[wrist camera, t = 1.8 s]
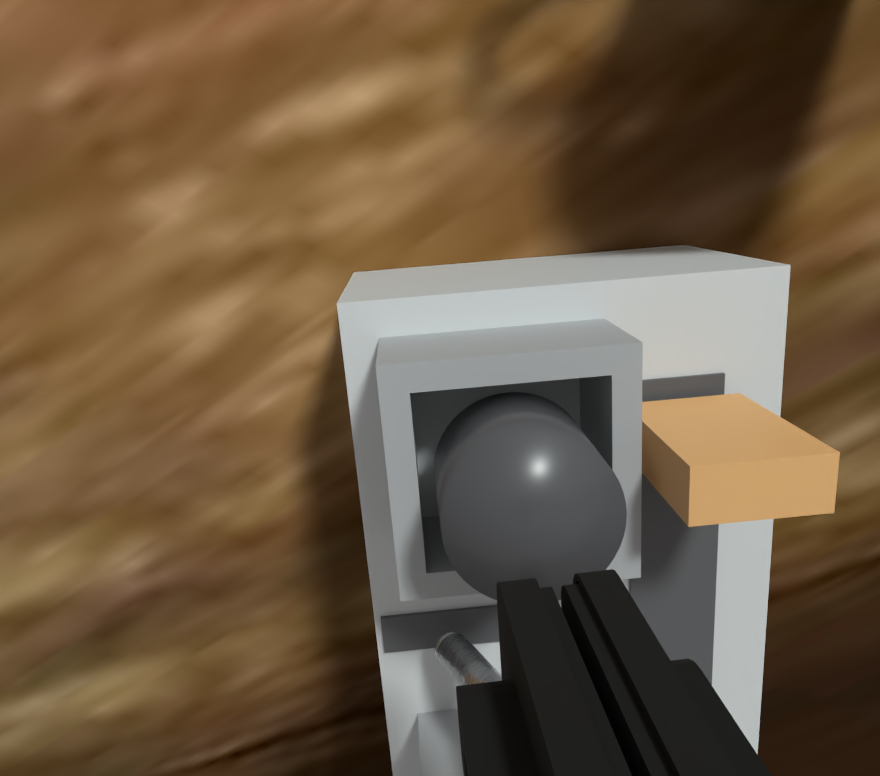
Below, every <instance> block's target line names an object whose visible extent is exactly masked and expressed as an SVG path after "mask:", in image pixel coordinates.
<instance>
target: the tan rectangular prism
mask: <svg viewBox="0 0 880 776" xmlns="http://www.w3.org/2000/svg"><path fill="white" fill-rule="evenodd" d="M839 456H840V452H838V451H836V450H835V449H833V448H831V447H830V446H828V445H826V444H825V443H823V442H821V441H820V440H818V439H816V438H815V437H813V436H811V435H810V434H808V433H806V432H805V431H803V430H801V429H799V428H798V427H796V426H794V425H793V424H791V423H789V422H788V421H786V420H784V419H783V418H781V417H779V416H778V415H776V414H774V413H773V412H771V411H769V410H768V409H766V408H764V407H762V406H761V405H759V404H757V403H756V402H754V401H752V400H751V399H749V398H747V397H746V396H744V395H742V394H741V393H735V394H724V395H713V396H702V397H691V398H680V399H669V400H658V401H647V402H642V474H643V475H644V476H645V477H646V478H647V479H648V481H649V482H650V483H651V484H652V485H653V486H654V488H655V489H656V490H657V491H658V492H659V493H660V494H661V496H662V497H663V498H664V499H665V500H666V501H667V503H668V504H669V505H670V506H671V507H672V508H673V510H674V511H675V512H676V513H677V514H678V515H679V517H680V518H681V519H682V520H683V521H684V522H685V524H686V525H687V526H688V527H693V526H703V525H714V524H724V523H734V522H745V521H755V520H765V519H776V518H786V517H796V516H806V515H817V514H827V513H834V509H835V498H836V487H837V477H838V466H839Z"/></svg>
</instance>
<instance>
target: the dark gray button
mask: <svg viewBox="0 0 880 776" xmlns="http://www.w3.org/2000/svg"><path fill="white" fill-rule="evenodd" d="M434 478H435V486H436V494H437V502H438V510H439V518H440V527H441V534H442V541H443V545H444V548H445V552H446V554H447V557H448V559H449V561H450V563H451V565H452V566H453V568H454V569H455V570H456V572H457V573H458V574H459V576H460V577H461V578H462V579H463V580H464V581H465V582H466V583H467V584H469V585H470V586H471V587H472V588H474V589H475V590H477V591H478V592H480V593H481V594H483V595H485V596H487V597H490V598H492V599H495V600H497V591H496V588H497V582H502V581H511V580H520V579H529V578H535V579H536V580H537V582H538V584H539V587H540V588H543V587H552V588H553V590H554V592H555V595H556V597H557V600H561V587H562V586H563V585H570V584H573V578H574V575H575V573H583V572H592V571H601V570H606V569H607V568H608V566H609V565H610V563H611V562H612V560H613V559H614V558H615V556H616V554H617V552H618V550H619V548H620V546H621V543H622V540H623V537H624V533H625V528H626V520H627V510H626V501H625V496H624V492H623V490H622V487H621V484H620V482H619V480H618V478H617V477H616V475H615V473H614V472H613V470H612V469H611V468H610V466H609V465H608V464H607V463H606V461H605V460H604V459H603V457H602V456H601V455H600V453H599V452H598V451H597V449H596V448H595V447H594V445H593V444H592V443H591V442H590V440H589V439H588V438H587V436H586V435H585V434H584V432H583V431H582V430H581V428H580V427H579V426H578V424H577V423H576V422H575V421H574V419H573V418H572V417H571V416H570V415H569V414H568V413H567V412H566V411H565V410H564V409H563V408H562V407H560V406H559V405H557V404H556V403H554V402H552V401H551V400H549V399H546V398H544V397H541V396H539V395H535V394H530V393H523V392H506V393H499V394H495V395H491V396H488V397H485V398H483V399H480V400H478V401H476V402H474V403H473V404H471V405H469V406H468V407H466V408H465V409H464V410H463V411H461V412H460V413H459V414H458V415H457V416H456V417H455V418H454V419H453V420H452V421H451V422H450V424H449V425H448V426H447V428H446V429H445V431H444V433H443V434H442V436H441V438H440V441H439V443H438V446H437V449H436V453H435V459H434Z"/></svg>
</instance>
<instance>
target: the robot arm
mask: <svg viewBox="0 0 880 776" xmlns="http://www.w3.org/2000/svg"><path fill="white" fill-rule="evenodd" d="M496 591H497V610H498V626H499V643H500V660H501V676H502V681H495V682H486V683H478V684H469V685H461V686H456V697H457V710H458V722H459V733H460V744H461V754H462V764H463V773H464V776H771V774H770V773H769V771H768V770H767V768H766V767H765V765H764V764H763V762H762V761H761V759H760V758H759V756H758V755H757V753H756V752H755V750H754V749H753V747H752V746H751V744H750V743H749V741H748V740H747V738H746V737H745V735H744V734H743V732H742V731H741V729H740V728H739V726H738V724H737V723H736V721H735V720H734V718H733V717H732V715H731V714H730V712H729V711H728V709H727V708H726V706H725V705H724V703H723V702H722V700H721V699H720V697H719V696H718V694H717V693H716V691H715V690H714V688H713V687H712V685H711V684H710V682H709V681H708V679H707V678H706V676H705V675H704V673H703V672H702V670H701V669H700V668H699V666H698V665H697V664H696V663H695V662H694V661H692V660H690V659H680V660H672V661H670V659H669V657H668V656H667V654H666V652H665V651H664V649H663V647H662V646H661V644H660V643H659V641H658V639H657V638H656V636H655V634H654V633H653V631H652V629H651V628H650V626H649V624H648V623H647V621H646V620H645V618H644V616H643V615H642V613H641V611H640V610H639V608H638V606H637V605H636V603H635V601H634V600H633V598H632V596H631V595H630V593H629V592H628V590H627V588H626V587H625V585H624V583H623V582H622V580H621V578H620V577H619V575H618V574H617V572H616V571H615V570H613V569H610V570H601V571H592V572H583V573H575V575H574V578H573V584H570V585H563V586H562V587H561V607H560V604H559V602H558V600H557V597H556V595H555V592H554V590H553V588H552V587H543V588H540V587H539V584H538V582H537V580H536V579H535V578H529V579H520V580H511V581H502V582H497V588H496Z"/></svg>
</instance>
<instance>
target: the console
mask: <svg viewBox="0 0 880 776" xmlns="http://www.w3.org/2000/svg"><path fill="white" fill-rule="evenodd" d="M789 280H790V265H788V264H783V263H777V262H772V261H767V260H762V259H756V258H751V257H746V256H741V255H735V254H730V253H725V252H720V251H714V250H709V249H704V248H699V247H693V246H688V245H677V246H665V247H653V248H641V249H629V250H617V251H604V252H592V253H580V254H568V255H556V256H544V257H532V258H520V259H508V260H496V261H484V262H472V263H460V264H448V265H436V266H424V267H412V268H400V269H388V270H375V271H363V272H354V273H353V275H352V277H351V278H350V280H349V282H348V284H347V286H346V287H345V289H344V291H343V293H342V295H341V297H340V298H339V300H338V302H337V310H338V318H339V326H340V335H341V343H342V352H343V360H344V368H345V377H346V385H347V394H348V402H349V410H350V419H351V427H352V436H353V444H354V452H355V461H356V469H357V478H358V486H359V495H360V503H361V511H362V520H363V528H364V537H365V545H366V553H367V562H368V570H369V579H370V587H371V595H372V604H373V612H374V621H375V629H376V637H377V646H378V654H379V663H380V671H381V679H382V688H383V696H384V705H385V713H386V721H387V730H388V738H389V747H390V755H391V763H392V772H393V776H464V773H463V764H462V754H461V744H460V733H459V722H458V710H457V697H456V686H459V685H458V683H457V682H456V681H455V680H454V679H453V678H452V676H451V675H450V674H449V673H448V672H447V671H446V669H445V668H444V667H443V666H442V665H441V663H440V662H439V661H438V659H437V658H436V655H435V644H436V641H437V639H438V638H439V636H440V635H442V634H443V633H445V632H447V631H457V632H459V633H461V634H462V635H464V636H465V637H466V638H467V639H468V640H469V642H470V643H471V644H472V645H473V646H474V647H475V648H476V649H477V650H478V651H479V652H480V653H481V654H482V655H483V656H484V657H485V658H486V659H487V660H488V661H489V662H490V663H491V664H492V665H493V666H494V668H495V669H496V670H497V671H498V672H499V673H500V674H501V660H500V643H499V626H498V610H497V600H495V599H492V598H490V597H487V596H485V595H483V594H481V593H480V592H478V591H477V590H475V589H474V588H472V587H471V586H470V585H469V584H467V583H466V582H465V581H464V580H463V579H462V578H461V577H460V576H459V574H458V573H457V572H456V570H455V569H454V568H453V566H452V565H451V563H450V561H449V559H448V557H447V554H446V552H445V548H444V545H443V541H442V534H441V527H440V518H439V510H438V502H437V494H436V486H435V478H434V459H435V453H436V449H437V446H438V443H439V441H440V438H441V436H442V434H443V433H444V431H445V429H446V428H447V426H448V425H449V424H450V422H451V421H452V420H453V419H454V418H455V417H456V416H457V415H458V414H459V413H460V412H461V411H463V410H464V409H465V408H466V407H468V406H469V405H471V404H473V403H474V402H476V401H478V400H480V399H483V398H485V397H488V396H491V395H495V394H499V393H506V392H523V393H530V394H535V395H539V396H541V397H544V398H546V399H549V400H551V401H552V402H554V403H556V404H557V405H559V406H560V407H562V408H563V409H564V410H565V411H566V412H567V413H568V414H569V415H570V416H571V417H572V418H573V419H574V421H575V422H576V423H577V424H578V426H579V427H580V428H581V430H582V431H583V432H584V434H585V435H586V436H587V438H588V439H589V440H590V442H591V443H592V444H593V445H594V447H595V448H596V449H597V451H598V452H599V453H600V455H601V456H602V457H603V459H604V460H605V461H606V463H607V464H608V465H609V466H610V468H611V469H612V470H613V472H614V473H615V475H616V477H617V478H618V480H619V482H620V484H621V487H622V490H623V492H624V496H625V501H626V510H627V520H626V528H625V533H624V537H623V540H622V543H621V546H620V548H619V550H618V552H617V554H616V556H615V558H614V559H613V560H612V562H611V563H610V565H609V566H608V568H607V569H606V570H610V569H613V570H615V571H616V572H617V574H618V575H619V577H620V578H621V580H622V582H623V583H624V585H625V587H626V588H627V590H628V592H629V593H630V595H631V596H632V598H633V600H634V601H635V603H636V605H637V606H638V608H639V610H640V611H641V613H642V615H643V616H644V618H645V620H646V621H647V623H648V624H649V626H650V628H651V629H652V631H653V633H654V634H655V636H656V638H657V639H658V641H659V643H660V644H661V646H662V647H663V649H664V651H665V652H666V654H667V656H668V657H669V659H670V661H672V660H680V659H690V660H692V661H694V662H695V663H696V664H697V665H698V666H699V668H700V669H701V670H702V672H703V673H704V675H705V676H706V678H707V679H708V681H709V682H710V684H711V685H712V687H713V688H714V690H715V691H716V693H717V694H718V696H719V697H720V699H721V700H722V702H723V703H724V705H725V706H726V708H727V709H728V711H729V712H730V714H731V715H732V717H733V718H734V720H735V721H736V723H737V724H738V726H739V728H740V729H741V731H742V732H743V734H744V735H745V737H746V738H747V740H748V741H749V743H750V744H751V746H752V747H753V749H754V750H755V752H756V753H757V754H758V739H759V725H760V710H761V695H762V680H763V665H764V650H765V636H766V621H767V606H768V591H769V576H770V561H771V547H772V532H773V519H765V520H755V521H745V522H734V523H724V524H714V525H703V526H693V527H688V526H687V525H686V524H685V522H684V521H683V520H682V519H681V518H680V517H679V515H678V514H677V513H676V512H675V511H674V510H673V508H672V507H671V506H670V505H669V504H668V503H667V501H666V500H665V499H664V498H663V497H662V496H661V494H660V493H659V492H658V491H657V490H656V489H655V488H654V486H653V485H652V484H651V483H650V482H649V481H648V479H647V478H646V477H645V476H644V475H643V474H642V402H647V401H658V400H669V399H680V398H691V397H702V396H713V395H724V394H735V393H741V394H742V395H744V396H746V397H747V398H749V399H751V400H752V401H754V402H756V403H757V404H759V405H761V406H762V407H764V408H766V409H768V410H769V411H771V412H773V413H774V414H776V415H778V416H779V417H780V413H781V398H782V383H783V369H784V354H785V339H786V324H787V309H788V294H789ZM558 602H559V604H560V607H561V600H558Z"/></svg>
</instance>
